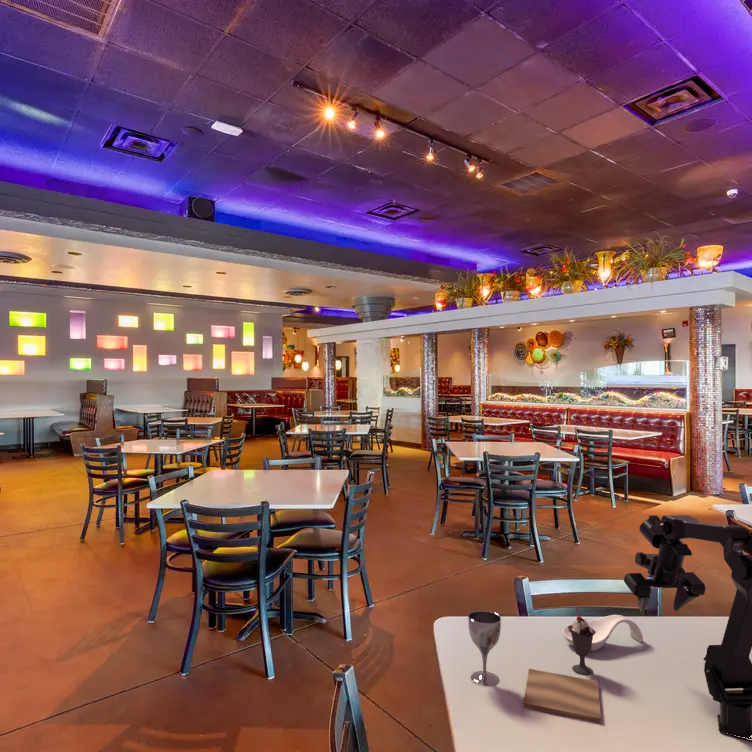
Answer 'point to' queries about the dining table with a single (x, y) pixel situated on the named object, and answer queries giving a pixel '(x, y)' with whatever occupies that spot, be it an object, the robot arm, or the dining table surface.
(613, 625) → the spoon rest
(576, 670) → the sundae
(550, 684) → the serving board
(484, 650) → the wine glass
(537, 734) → the dining table surface
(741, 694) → the robot arm
